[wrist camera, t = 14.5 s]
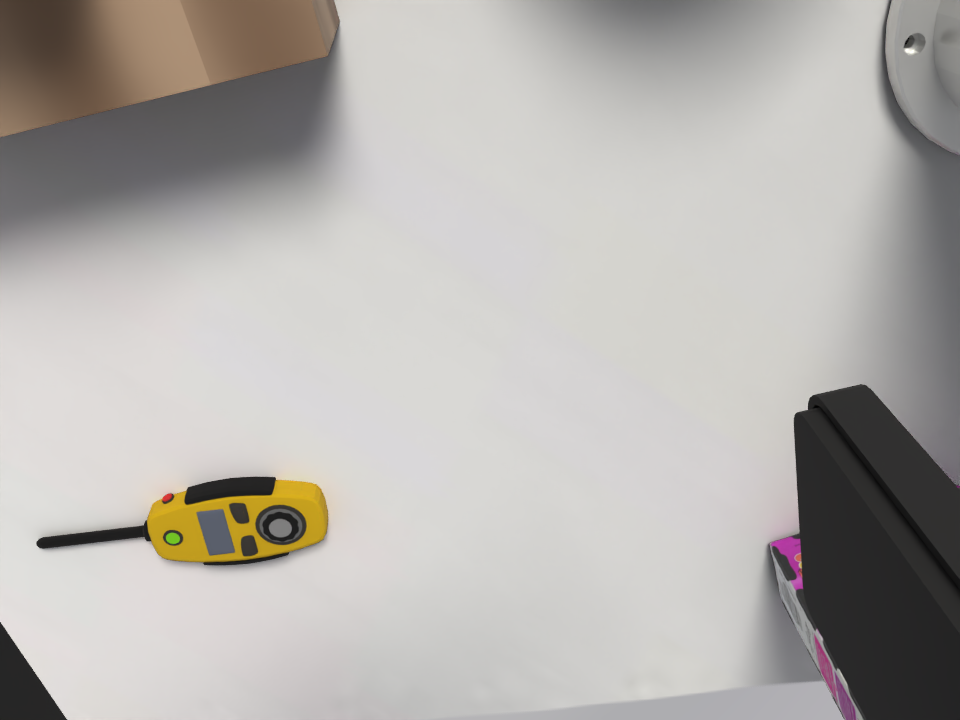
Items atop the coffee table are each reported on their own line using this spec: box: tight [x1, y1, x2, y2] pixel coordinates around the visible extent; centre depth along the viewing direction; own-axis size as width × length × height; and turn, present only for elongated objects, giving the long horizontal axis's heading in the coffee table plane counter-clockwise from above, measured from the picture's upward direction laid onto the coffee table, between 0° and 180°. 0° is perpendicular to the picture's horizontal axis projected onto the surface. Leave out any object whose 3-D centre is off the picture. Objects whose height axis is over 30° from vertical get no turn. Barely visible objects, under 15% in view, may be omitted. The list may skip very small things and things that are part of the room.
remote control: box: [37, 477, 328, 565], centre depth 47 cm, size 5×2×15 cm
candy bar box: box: [769, 485, 960, 720], centre depth 45 cm, size 11×5×16 cm, turn 109°
